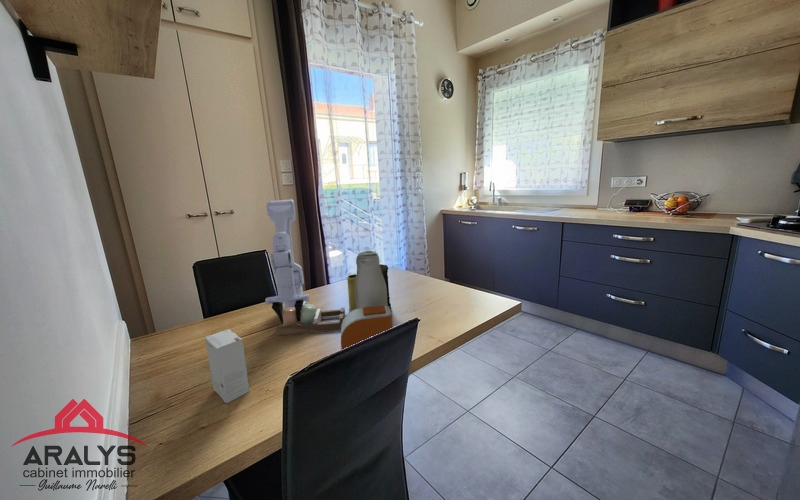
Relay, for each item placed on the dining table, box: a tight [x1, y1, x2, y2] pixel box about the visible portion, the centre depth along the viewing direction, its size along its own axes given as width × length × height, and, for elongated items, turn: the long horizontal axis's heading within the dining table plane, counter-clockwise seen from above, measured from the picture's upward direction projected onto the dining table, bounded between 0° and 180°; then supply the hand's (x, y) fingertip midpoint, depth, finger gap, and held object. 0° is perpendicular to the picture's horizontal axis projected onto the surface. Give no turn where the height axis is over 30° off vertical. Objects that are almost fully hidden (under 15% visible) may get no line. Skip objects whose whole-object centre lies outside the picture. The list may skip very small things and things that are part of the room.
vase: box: [346, 273, 357, 313], centre depth 118 cm, size 6×6×14 cm
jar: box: [282, 307, 300, 327], centre depth 107 cm, size 5×5×6 cm
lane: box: [276, 307, 346, 336], centre depth 108 cm, size 11×22×4 cm, turn 97°
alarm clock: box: [340, 305, 393, 351], centre depth 88 cm, size 15×8×14 cm, turn 100°
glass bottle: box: [354, 250, 387, 308], centre depth 98 cm, size 10×10×28 cm
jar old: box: [298, 303, 318, 325], centre depth 108 cm, size 5×5×6 cm
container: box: [380, 263, 392, 311], centre depth 115 cm, size 9×9×18 cm
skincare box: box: [204, 328, 250, 404], centre depth 74 cm, size 8×6×15 cm
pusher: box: [314, 308, 347, 324], centre depth 109 cm, size 8×14×4 cm, turn 97°
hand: (290, 320), depth 108 cm, fingers closed on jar, 5 cm apart
